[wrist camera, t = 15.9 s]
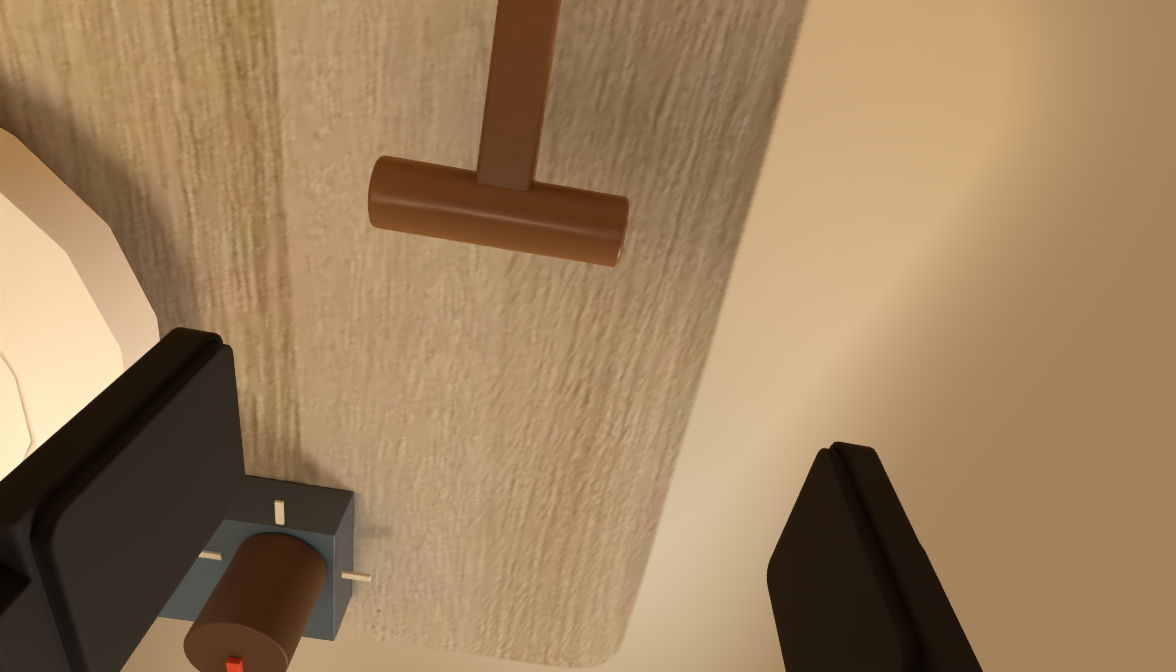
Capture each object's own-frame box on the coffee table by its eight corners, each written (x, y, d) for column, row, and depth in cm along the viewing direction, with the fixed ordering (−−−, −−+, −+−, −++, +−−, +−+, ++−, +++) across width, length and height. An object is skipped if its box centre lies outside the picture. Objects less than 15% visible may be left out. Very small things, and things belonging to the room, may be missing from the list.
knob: (233, 526, 33) (172, 622, 28) (327, 539, 33) (282, 637, 29) (240, 588, 35) (185, 687, 31) (328, 600, 35) (287, 700, 31)
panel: (391, 471, 35) (372, 517, 32) (383, 599, 40) (367, 649, 37) (149, 433, 34) (109, 476, 31) (172, 569, 39) (139, 617, 36)
